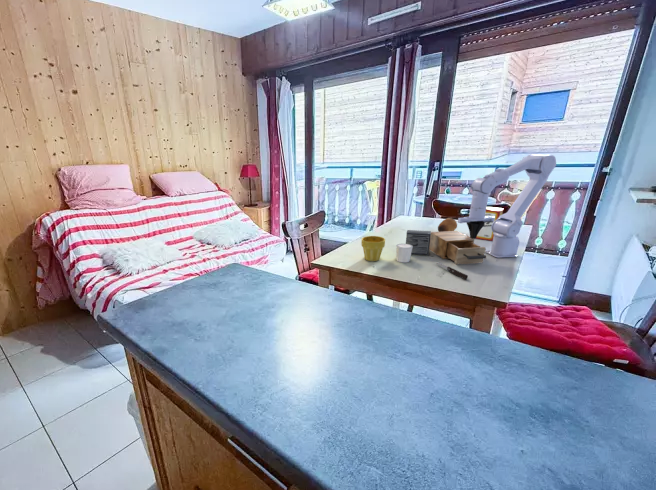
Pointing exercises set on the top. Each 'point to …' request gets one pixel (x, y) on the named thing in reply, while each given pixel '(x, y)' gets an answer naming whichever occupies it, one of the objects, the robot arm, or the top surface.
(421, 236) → the small box
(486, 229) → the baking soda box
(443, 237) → the cabinet
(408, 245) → the white tapered cylinder
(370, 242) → the flower pot
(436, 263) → the kitchen knife
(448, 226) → the potato
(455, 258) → the drawer
